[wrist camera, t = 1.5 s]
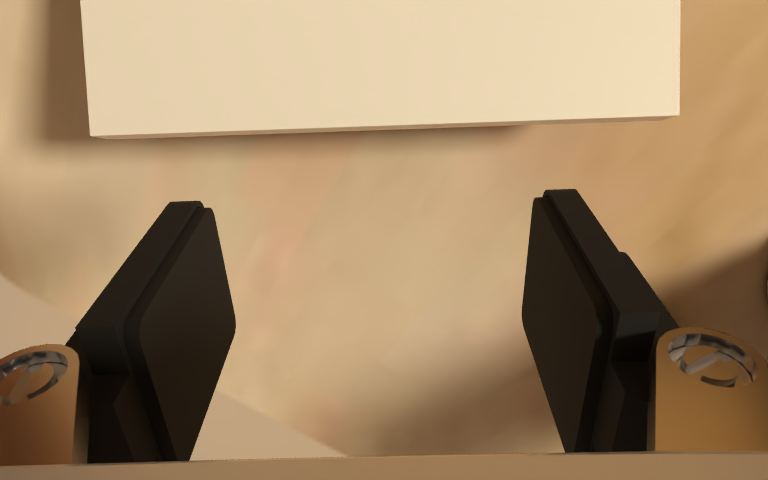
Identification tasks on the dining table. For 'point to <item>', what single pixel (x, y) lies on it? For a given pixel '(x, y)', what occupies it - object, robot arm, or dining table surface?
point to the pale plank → (374, 64)
